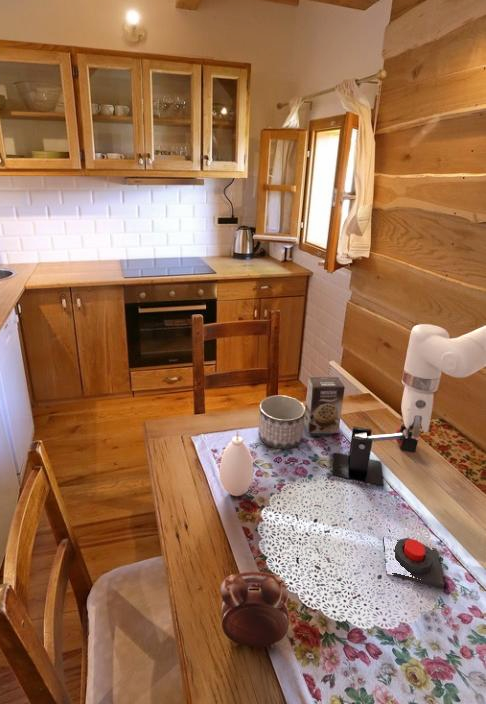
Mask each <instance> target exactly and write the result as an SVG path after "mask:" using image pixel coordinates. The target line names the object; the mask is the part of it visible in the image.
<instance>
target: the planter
mask: <svg viewBox="0 0 486 704" xmlns="http://www.w3.org/2000/svg"><path fill="white" fill-rule="evenodd" d="M304 418H305V405H304V404H303V403H302V402H301V401H300V400H299V399H297V398H295V397H292V396H288V395H283V394H281V395H277V394H276V395H271V396H267V397H266V398H264V399H262V400H261V401H260V402H259V413H258V430H257V432H258V438H259V439H260V441H261V442H262V443H263V444H265V445H266V446H268V447H271V448H274V449H278V450H289V449H293V448H296V447H298V446H299V445H300V444H301V443H302V441H303V438H304V427H305V423H304Z"/></svg>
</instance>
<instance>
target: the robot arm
mask: <svg viewBox="0 0 486 704" xmlns="http://www.w3.org/2000/svg"><path fill="white" fill-rule="evenodd" d="M485 367H486V325H483V326H481V327H478V328H477V329H475V330H473V331H470V332H467V333H466V334H462V335H460V336H458V337H453V338H450V334H449V332H448V331H447V330H446V329H445V328H443V327H441V326H438V325H434V324H430V323H429V324H428V323H424V324H423V323H421V324H418V325H415V326H414V327H412V329H411V330H410V335H409V340H408V345H407V351H406V356H405V362H404V367H403V370H402V371H403V372H402V377H401V383H402V384H403V386H404V389H403V393H402V399H401V407H400V409H401V416H402V419H401V420H402V421H401V425H400V427H401V429H400V433H402V432H403V430H405V429H406V431H405V435H403V439H399V440H401V441H402V444H401V446H400V450H401V451H402V452H407V453H414V454H415V453H416V452H417V448H418V442H419V439H420V432H421V430H422V432H423V433H428V432H429V430H430V426H431V418H432V414H433V407H434V398H435V397H434V396H435V395H434V393H435V392H437V391H438V389H439V386H440V383H441V377H442V373H444V374H445V375H448V376H449V377H452V378H456V379H463V378H468V377H470V376H472V375H473V374H475V373H476V372H479V371H480V370H482V369H484V368H485ZM403 425H404V426H403ZM409 429H412V430H413V431H412V432H409Z"/></svg>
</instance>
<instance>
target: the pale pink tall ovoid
mask: <svg viewBox="0 0 486 704" xmlns="http://www.w3.org/2000/svg"><path fill="white" fill-rule="evenodd" d="M254 470H255V469H254V462H253V457H252V453H251V451H250V449H249V447H248V445H247V444H246V443H245V442H244V439H243V438H242V437H241V436H239V429H237V430H236V436H233V437H232V438H231V441H230V442H229V443H228V444H227V446H226V447H225V449H224V451H223V453H222V456H221V459H220V463H219V480H220V483H221V485H222V487H223V489H224V490H225V492H226V493H227V494H229V495H231V496H234V497H239V496H243V495H244V494H245V493H246V492H247V491H248V490H249V488H250V486H251V484H252V482H253V478H254Z"/></svg>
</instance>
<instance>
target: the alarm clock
mask: <svg viewBox="0 0 486 704" xmlns="http://www.w3.org/2000/svg"><path fill="white" fill-rule="evenodd" d="M247 576H249V577H247ZM250 576H259V577H250ZM243 577H247V578H243ZM261 577H264V578H261ZM220 585H221V586H220V596H221V598H222V603H221V612H220V613H221V615H220V616H221V628H222V631H223V633H224V634H225V636H226V637H227V638H228V639H229V641H230V640H231V641H232V642H234V643H233V645H234V647H236V646H238V645H240V646H242V647H248V648H265V647H269V646H270V647H271V648H274V645H275V644H277V643H278V642H280V641H282V640H283V639H284V638H285V636H286V635H287V633H288V630H289V609H288V604H287V600H288V597H289V589H288V586H287V584H286V582H285V581H284V579H282V577H280V576H278V575H276V574H272V573H269V572H264V571H245V572H239V573H237V574H234V573H233V574H230V575H228V576H226V578H224V579H223V581H222V583H221V584H220Z"/></svg>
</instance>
